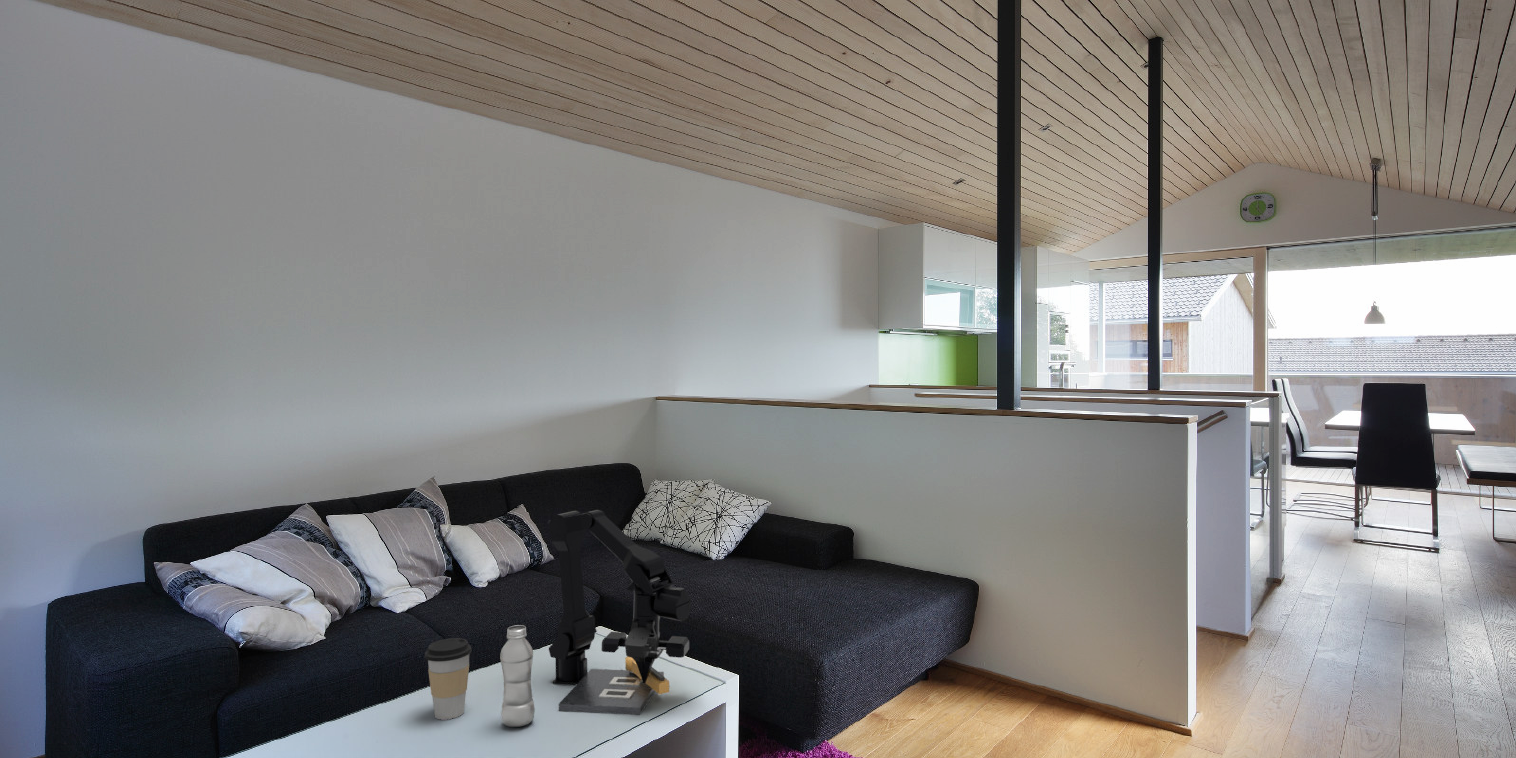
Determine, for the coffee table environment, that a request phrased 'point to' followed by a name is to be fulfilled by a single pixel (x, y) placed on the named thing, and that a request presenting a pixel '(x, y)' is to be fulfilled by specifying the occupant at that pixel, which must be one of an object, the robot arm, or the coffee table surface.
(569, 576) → the robot arm
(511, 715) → the plastic bottle
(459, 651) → the coffee cup
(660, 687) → the bar
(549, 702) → the coffee table surface
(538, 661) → the coffee table surface
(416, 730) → the coffee table surface
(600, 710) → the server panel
